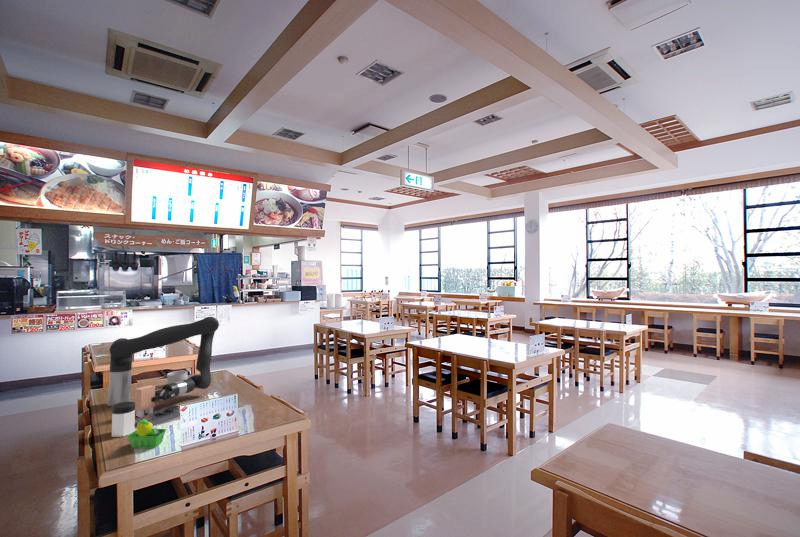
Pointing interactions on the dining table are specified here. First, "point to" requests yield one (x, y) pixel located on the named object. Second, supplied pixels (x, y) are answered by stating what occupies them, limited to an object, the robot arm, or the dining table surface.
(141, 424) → the fruit basket
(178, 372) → the teacup
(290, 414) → the dining table surface
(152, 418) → the grey flat block
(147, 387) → the light brown rectangular block
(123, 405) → the jar
